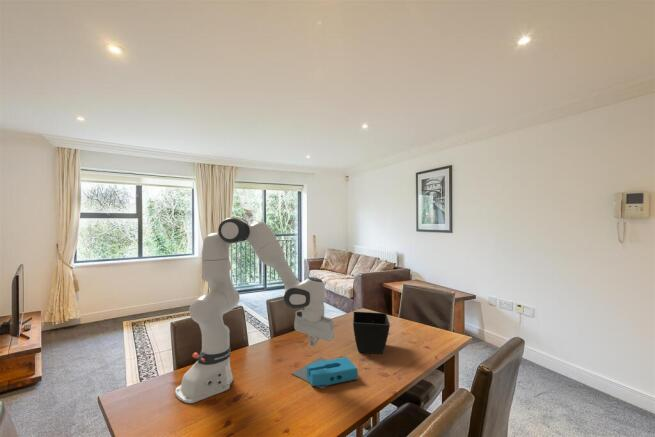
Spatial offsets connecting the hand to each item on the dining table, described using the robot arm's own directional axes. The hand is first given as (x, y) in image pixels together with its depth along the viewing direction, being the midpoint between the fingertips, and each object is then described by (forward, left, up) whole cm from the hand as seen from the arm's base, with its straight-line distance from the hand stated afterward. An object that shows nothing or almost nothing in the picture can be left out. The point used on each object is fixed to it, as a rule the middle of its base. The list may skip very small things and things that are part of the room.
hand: (313, 345), depth 128 cm
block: (-5, -2, -11) cm, 12 cm away
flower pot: (+41, -5, -14) cm, 44 cm away
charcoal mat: (+5, 0, -14) cm, 15 cm away
